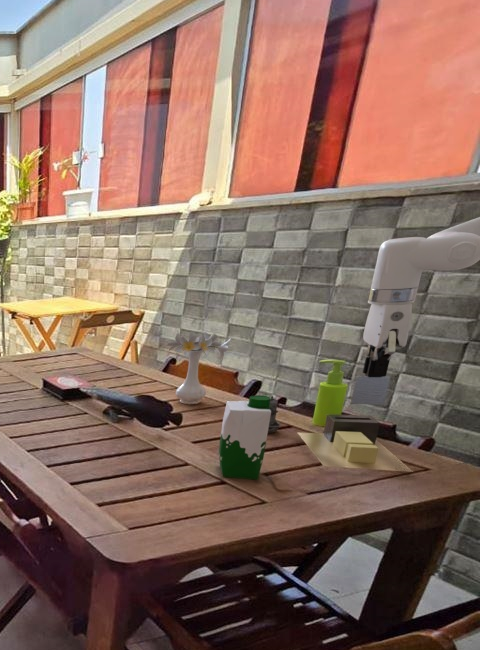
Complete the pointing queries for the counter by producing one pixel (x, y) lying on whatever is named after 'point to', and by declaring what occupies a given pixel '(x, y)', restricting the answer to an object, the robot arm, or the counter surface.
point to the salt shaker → (273, 416)
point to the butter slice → (361, 453)
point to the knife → (370, 388)
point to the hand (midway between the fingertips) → (373, 374)
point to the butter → (349, 440)
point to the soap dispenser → (330, 394)
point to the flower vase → (195, 363)
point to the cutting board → (334, 459)
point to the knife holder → (351, 426)
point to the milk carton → (244, 437)
